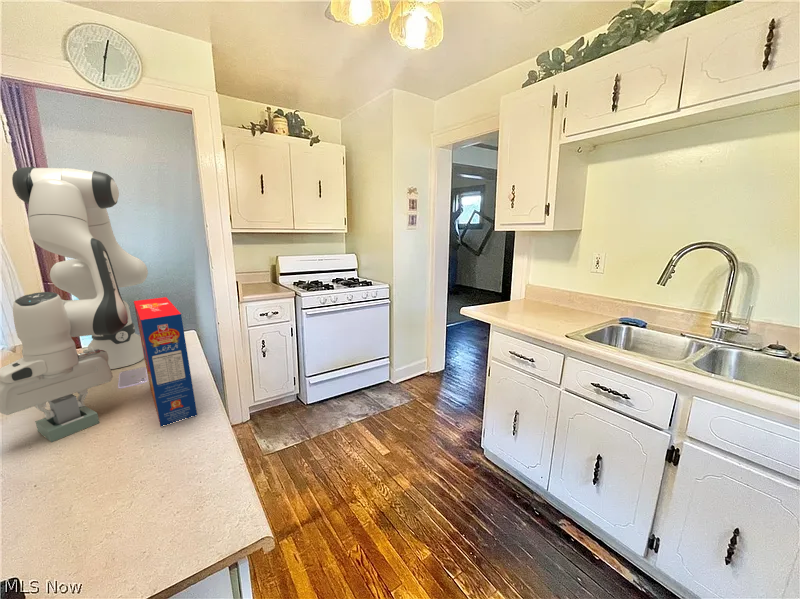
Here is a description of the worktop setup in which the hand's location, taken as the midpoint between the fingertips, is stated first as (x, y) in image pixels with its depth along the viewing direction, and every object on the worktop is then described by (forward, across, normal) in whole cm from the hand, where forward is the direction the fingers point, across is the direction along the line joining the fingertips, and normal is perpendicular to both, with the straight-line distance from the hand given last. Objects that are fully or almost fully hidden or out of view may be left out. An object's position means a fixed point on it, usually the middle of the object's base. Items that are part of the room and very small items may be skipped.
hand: (65, 412), depth 84 cm
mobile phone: (+5, -22, -19) cm, 29 cm away
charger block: (+2, 0, 0) cm, 2 cm away
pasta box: (+4, -20, +9) cm, 22 cm away
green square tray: (+4, 0, 0) cm, 4 cm away
